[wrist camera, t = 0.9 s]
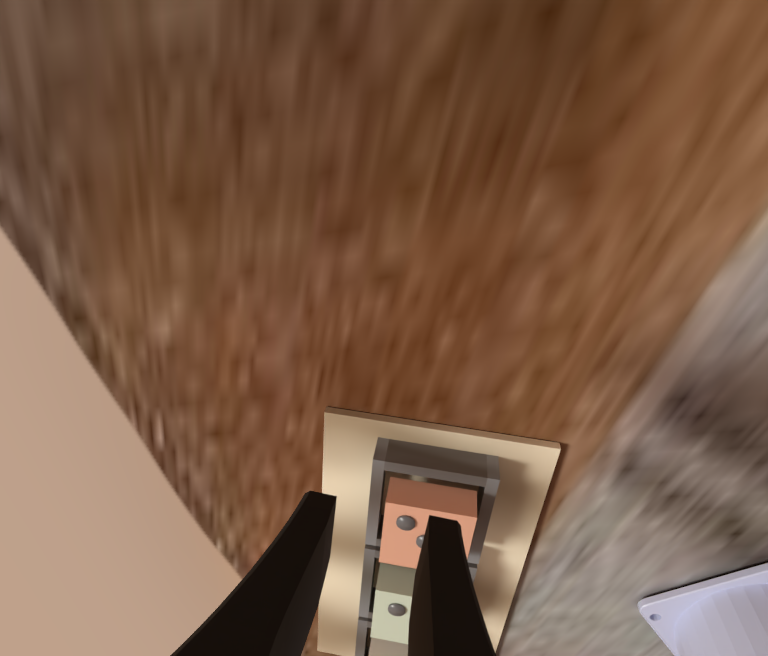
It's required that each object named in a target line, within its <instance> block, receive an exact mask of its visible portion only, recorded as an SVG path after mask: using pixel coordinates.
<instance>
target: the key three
mask: <svg viewBox="0 0 768 656" xmlns="http://www.w3.org/2000/svg"><path fill="white" fill-rule="evenodd" d="M429 515H432V516H437V517H442V518H447V519H452V520H457V521H458V522H459V524H460V525H461V530H462V537H463V542H464V548H465V552H466V557H467V559H468V554H469V550H470V546H471V542H472V538H473V533H474V529H475V525H476V521H477V491H474V490H468V489H462V488H456V487H449V486H443V485H437V484H431V483H425V482H419V481H413V480H407V479H401V478H395V477H390V481H389V487H388V492H387V497H386V503H385V512H384V521H383V529H382V538H381V547H380V556H379V562H382V563H387V564H393V565H398V566H404V567H409V568H415V569H416V568H417V564H418V560H419V556H420V552H421V548H422V543H423V539H424V535H425V531H426V527H427V522H428V518H429Z"/></svg>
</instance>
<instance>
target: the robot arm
mask: <svg viewBox="0 0 768 656" xmlns="http://www.w3.org/2000/svg"><path fill="white" fill-rule="evenodd" d="M336 500H337V496H333V495H329V494H324V493H319V492H314V491H309V492H307V493H305V494H304V496H303V498H302V500H301V501H300V503H299V505H298V506H297V508H296V509H295V511H294V512H293V514H292V516H291V517H290V519H289V520H288V521H287V523H286V524H285V526H284V527H283V529H282V530H281V531H280V533H279V534H278V535H277V537H276V538H275V540H274V541H273V542H272V544H271V545H270V546H269V547H268V549H267V550H266V551H265V552H264V554H263V555H262V556H261V557H260V559H259V560H258V561H257V563H256V564H255V565H254V566H253V568H252V569H251V570H250V571H249V572H248V574H247V575H246V576H245V577H244V578H243V580H242V581H241V582H240V583H239V584H238V585H237V586H236V588H235V589H234V590H233V591H232V592H231V593H230V594H229V596H228V597H227V598H226V599H225V600H224V601H223V602H222V604H221V605H220V606H219V607H218V608H217V609H216V610H215V611H214V612H213V613H212V614H211V615H210V617H208V619H207V620H206V621H205V622H204V623H203V624H202V625H201V626H200V627H199V628H198V629H197V630H196V631H195V632H194V633H193V634H192V635H191V636H190V637H189V638H188V639H187V640H186V641H185V642H184V643H183V644H182V645H181V646H180V647H179V648H178V649H177V650H176V651H175V652H174V653H173V654H172V655H170V656H301V653H302V651H303V648H304V645H305V642H306V639H307V636H308V633H309V630H310V627H311V625H312V622H313V619H314V616H315V613H316V610H317V607H318V604H319V600H320V596H321V592H322V588H323V584H324V580H325V576H326V572H327V568H328V564H329V560H330V554H331V545H332V536H333V527H334V518H335V509H336ZM638 608H639V611H640V614H641V615H642V616H643V617H644V618H645V620H646V621H647V622H648V623H649V625H650V626H651V627H652V628H653V630H654V631H655V632H656V633H657V635H658V636H659V637H660V638H661V640H662V641H663V642H664V643H665V645H666V646H667V647H668V648H669V649H670V651H671V652H672V653H673V654H674V656H768V563H765V564H761V565H758V566H754V567H751V568H747V569H744V570H741V571H737V572H734V573H730V574H727V575H723V576H720V577H716V578H713V579H709V580H706V581H702V582H699V583H696V584H692V585H689V586H685V587H682V588H678V589H675V590H671V591H668V592H664V593H661V594H657V595H654V596H650V597H647V598H644V599H641V600H640V601H639V602H638ZM408 656H496V654H495V651H494V648H493V645H492V642H491V639H490V637H489V634H488V631H487V628H486V624H485V621H484V618H483V615H482V612H481V609H480V605H479V602H478V599H477V596H476V592H475V589H474V585H473V581H472V577H471V573H470V570H469V566H468V561H467V557H466V552H465V548H464V542H463V537H462V530H461V525H460V524H459V522H458V521H457V520H452V519H447V518H442V517H437V516H432V515H429V518H428V522H427V527H426V531H425V535H424V539H423V543H422V548H421V552H420V556H419V560H418V564H417V568H416V573H415V579H414V587H413V594H412V602H411V610H410V618H409V633H408Z"/></svg>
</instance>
